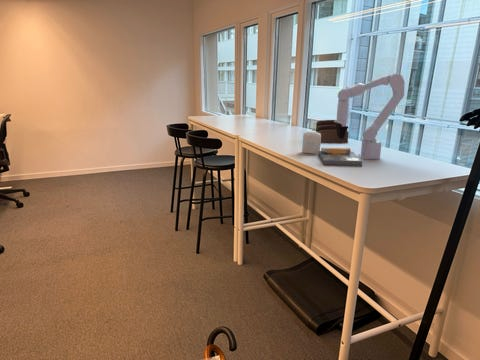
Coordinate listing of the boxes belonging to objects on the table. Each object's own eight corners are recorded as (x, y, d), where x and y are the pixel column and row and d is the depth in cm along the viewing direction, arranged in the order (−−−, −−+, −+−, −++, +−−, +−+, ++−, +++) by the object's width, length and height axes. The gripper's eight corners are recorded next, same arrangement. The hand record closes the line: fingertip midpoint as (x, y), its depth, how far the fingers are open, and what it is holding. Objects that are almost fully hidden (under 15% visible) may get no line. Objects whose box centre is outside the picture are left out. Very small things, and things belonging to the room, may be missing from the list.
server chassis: (352, 156, 183) (352, 151, 182) (361, 166, 162) (362, 160, 161) (318, 155, 185) (318, 150, 184) (323, 165, 164) (324, 160, 163)
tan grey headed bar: (321, 152, 178) (321, 148, 177) (320, 151, 181) (320, 147, 181) (350, 153, 176) (350, 149, 176) (348, 151, 180) (349, 148, 179)
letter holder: (315, 140, 231) (316, 119, 227) (344, 140, 229) (346, 119, 225) (316, 142, 221) (318, 121, 217) (347, 143, 219) (349, 121, 215)
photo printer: (321, 153, 189) (322, 131, 186) (318, 155, 186) (319, 132, 182) (303, 151, 195) (305, 130, 191) (300, 152, 191) (302, 131, 188)
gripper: (332, 111, 187) (330, 135, 190) (337, 113, 173) (335, 140, 177) (345, 111, 186) (343, 135, 190) (351, 114, 172) (348, 140, 176)
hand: (340, 137), depth 183 cm, fingers open, 5 cm apart
